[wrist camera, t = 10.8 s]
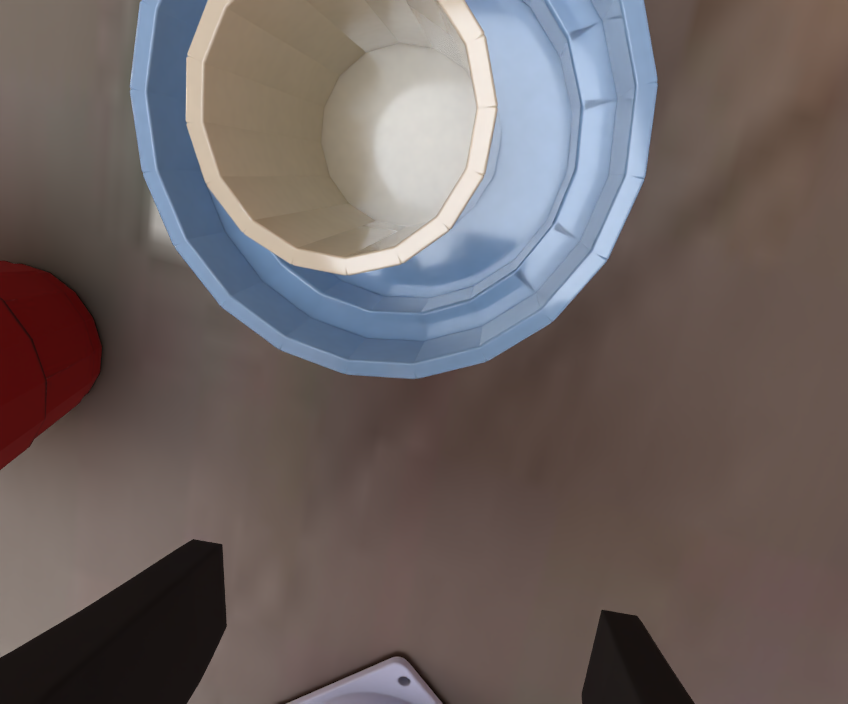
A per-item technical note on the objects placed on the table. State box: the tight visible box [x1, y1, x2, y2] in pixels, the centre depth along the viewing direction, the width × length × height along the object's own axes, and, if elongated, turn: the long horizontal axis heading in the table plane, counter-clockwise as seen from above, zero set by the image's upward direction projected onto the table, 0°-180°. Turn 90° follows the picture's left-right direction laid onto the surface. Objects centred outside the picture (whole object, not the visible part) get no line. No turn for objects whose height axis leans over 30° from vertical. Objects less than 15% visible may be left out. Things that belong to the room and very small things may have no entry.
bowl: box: [130, 0, 658, 379], centre depth 14 cm, size 12×12×4 cm
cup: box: [186, 0, 502, 276], centre depth 12 cm, size 6×6×7 cm
